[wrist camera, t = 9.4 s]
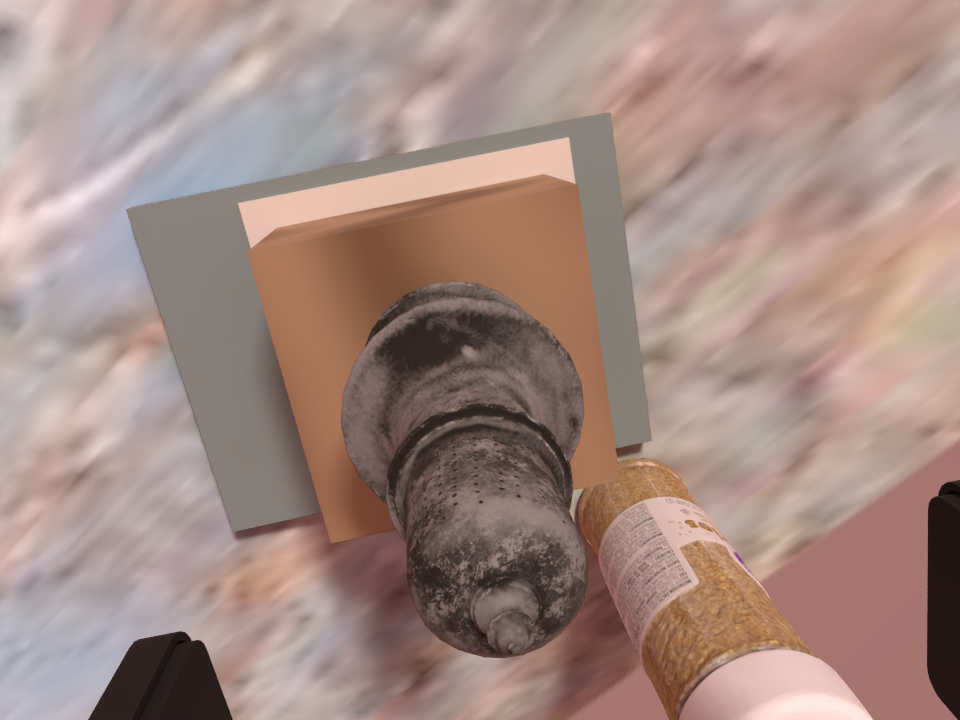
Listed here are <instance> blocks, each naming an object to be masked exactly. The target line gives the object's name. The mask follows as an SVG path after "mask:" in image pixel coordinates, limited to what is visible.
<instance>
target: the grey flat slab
mask: <svg viewBox="0 0 960 720" xmlns="http://www.w3.org/2000/svg"><path fill="white" fill-rule="evenodd" d="M541 174H546V175H549V176H552V177H555V178H559V179H562V180H565V181H568V182H571V183H574V184H577V185H578V188H579V195H580V202H581V209H582V216H583V223H584V230H585V237H586V244H587V251H588V258H589V265H590V272H591V279H592V286H593V293H594V300H595V307H596V314H597V321H598V328H599V335H600V342H601V349H602V356H603V363H604V370H605V377H606V384H607V391H608V398H609V405H610V412H611V419H612V426H613V433H614V440H615V447H616V448H621V447H626V446H630V445H635V444H639V443H644V442H648V441H652V439H651V431H650V423H649V415H648V407H647V399H646V391H645V384H644V376H643V368H642V360H641V352H640V344H639V336H638V328H637V320H636V312H635V304H634V296H633V288H632V280H631V273H630V265H629V257H628V249H627V241H626V233H625V225H624V217H623V209H622V201H621V193H620V185H619V177H618V169H617V162H616V154H615V146H614V138H613V130H612V122H611V114H610V113H603V114H598V115H593V116H588V117H583V118H578V119H573V120H568V121H563V122H558V123H553V124H548V125H543V126H538V127H533V128H528V129H522V130H517V131H512V132H507V133H502V134H497V135H492V136H487V137H482V138H477V139H472V140H467V141H462V142H457V143H452V144H447V145H442V146H437V147H432V148H427V149H422V150H417V151H412V152H407V153H402V154H397V155H392V156H387V157H382V158H377V159H372V160H367V161H362V162H357V163H352V164H347V165H342V166H337V167H332V168H326V169H321V170H316V171H311V172H306V173H301V174H296V175H291V176H286V177H281V178H276V179H271V180H266V181H261V182H256V183H251V184H246V185H241V186H236V187H231V188H226V189H221V190H216V191H211V192H206V193H201V194H196V195H191V196H186V197H181V198H176V199H171V200H166V201H161V202H156V203H151V204H146V205H141V206H136V207H132V208H128V209H126V211H127V214H128V217H129V220H130V223H131V226H132V229H133V232H134V235H135V238H136V241H137V244H138V247H139V250H140V253H141V256H142V259H143V262H144V265H145V268H146V271H147V274H148V277H149V280H150V283H151V286H152V289H153V292H154V295H155V298H156V301H157V304H158V307H159V310H160V313H161V316H162V319H163V322H164V325H165V328H166V331H167V334H168V337H169V340H170V343H171V346H172V349H173V352H174V355H175V358H176V361H177V364H178V367H179V370H180V373H181V376H182V379H183V382H184V385H185V388H186V391H187V394H188V398H189V401H190V404H191V407H192V410H193V413H194V416H195V419H196V422H197V425H198V428H199V431H200V434H201V437H202V440H203V443H204V446H205V449H206V452H207V455H208V458H209V461H210V464H211V467H212V470H213V473H214V476H215V479H216V482H217V485H218V488H219V491H220V494H221V497H222V500H223V503H224V506H225V509H226V512H227V515H228V518H229V521H230V524H231V527H232V530H233V532H235V531H239V530H244V529H249V528H253V527H258V526H262V525H267V524H272V523H276V522H281V521H285V520H290V519H295V518H299V517H304V516H308V515H313V514H318V513H322V511H321V508H320V504H319V501H318V497H317V494H316V490H315V487H314V483H313V480H312V477H311V473H310V470H309V466H308V463H307V459H306V456H305V452H304V449H303V445H302V442H301V438H300V435H299V431H298V428H297V424H296V421H295V417H294V414H293V410H292V407H291V403H290V400H289V396H288V393H287V389H286V386H285V382H284V379H283V375H282V372H281V369H280V365H279V362H278V358H277V355H276V351H275V348H274V344H273V341H272V337H271V334H270V330H269V327H268V323H267V320H266V316H265V313H264V309H263V306H262V302H261V299H260V295H259V292H258V288H257V285H256V281H255V278H254V274H253V271H252V267H251V264H250V260H249V257H248V254H247V251H249V250H250V249H251V248H252V247H254V246H255V245H256V244H257V243H259V242H260V241H261V240H262V239H263V238H265V237H266V236H267V235H268V234H270V233H271V232H272V231H273V230H275V229H276V228H278V227H283V226H288V225H293V224H298V223H303V222H308V221H313V220H318V219H323V218H328V217H333V216H338V215H343V214H348V213H353V212H358V211H363V210H368V209H373V208H378V207H383V206H388V205H392V204H397V203H402V202H407V201H412V200H417V199H422V198H427V197H432V196H437V195H442V194H447V193H452V192H457V191H462V190H467V189H472V188H477V187H482V186H487V185H492V184H497V183H502V182H507V181H511V180H516V179H521V178H526V177H531V176H536V175H541Z"/></svg>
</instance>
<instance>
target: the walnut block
mask: <svg viewBox="0 0 960 720" xmlns="http://www.w3.org/2000/svg"><path fill="white" fill-rule="evenodd" d="M247 254H248V257H249V260H250V264H251V267H252V271H253V274H254V278H255V281H256V285H257V288H258V292H259V295H260V299H261V302H262V306H263V309H264V313H265V316H266V320H267V323H268V327H269V330H270V334H271V337H272V341H273V344H274V348H275V351H276V355H277V358H278V362H279V365H280V369H281V372H282V375H283V379H284V382H285V386H286V389H287V393H288V396H289V400H290V403H291V407H292V410H293V414H294V417H295V421H296V424H297V428H298V431H299V435H300V438H301V442H302V445H303V449H304V452H305V456H306V459H307V463H308V466H309V470H310V473H311V477H312V480H313V483H314V487H315V490H316V494H317V497H318V501H319V504H320V508H321V511H322V515H323V518H324V522H325V525H326V529H327V532H328V536H329V539H330V543H336V542H340V541H345V540H349V539H354V538H358V537H363V536H368V535H372V534H377V533H381V532H386V531H390V530H395V529H396V528H395V526H394V524H393V522H392V520H391V519H390V515H389V510H388V505H387V504H386V503H385V502H383V501H382V500H381V499H380V498H379V497H378V496H377V495H376V494H375V493H374V492H373V491H372V490H371V489H370V488H369V487H368V486H367V485H366V484H365V483H364V482H363V481H362V480H361V478H360V476H359V475H358V473H357V471H356V469H355V467H354V465H353V463H352V461H351V460H350V458H349V456H348V454H347V451H346V446H345V442H344V437H343V432H342V428H341V412H342V398H343V391H344V388H345V385H346V383H347V380H348V377H349V375H350V372H351V369H352V367H353V364H354V362H355V360H356V359H357V358H358V356H359V355H360V353H361V352H362V351H363V349H364V348H365V345H366V343H367V340H368V337H369V335H370V332H371V330H372V328H373V327H374V326H375V324H376V323H377V321H378V320H379V319H380V317H381V316H382V315H383V313H384V312H385V310H387V309H388V308H389V307H390V306H392V305H393V304H394V303H395V302H397V301H398V300H399V299H400V298H402V297H403V296H404V295H406V294H408V293H410V292H412V291H415V290H417V289H419V288H422V287H424V286H426V285H429V284H436V283H442V282H448V281H460V282H469V283H478V284H481V285H483V286H486V287H489V288H491V289H494V290H496V291H499V292H501V293H502V294H504V295H505V296H507V297H508V298H509V299H511V300H512V301H513V302H515V303H516V304H518V305H519V306H520V307H521V308H522V310H523V311H525V312H526V313H528V314H529V315H531V316H532V317H533V318H535V319H536V320H537V321H539V322H540V323H541V324H543V325H544V326H546V327H547V328H548V329H550V330H551V331H552V332H553V334H554V335H555V336H556V338H557V339H558V340H559V341H560V343H561V344H562V345H563V347H564V348H565V349H566V350H567V352H568V353H569V354H570V356H571V358H572V361H573V363H574V366H575V368H576V371H577V373H578V376H579V378H580V380H581V383H582V392H583V402H584V411H585V413H584V419H583V425H582V431H581V436H580V442H579V444H578V446H577V448H576V450H575V452H574V455H573V457H572V459H571V461H570V465H571V472H572V480H573V490H577V489H582V488H586V487H591V486H595V485H600V484H605V483H609V482H614V481H618V480H620V475H619V468H618V461H617V454H616V447H615V440H614V433H613V426H612V419H611V412H610V405H609V398H608V391H607V384H606V377H605V370H604V363H603V356H602V349H601V342H600V335H599V328H598V321H597V314H596V307H595V300H594V293H593V286H592V279H591V272H590V265H589V258H588V251H587V244H586V237H585V230H584V223H583V216H582V209H581V202H580V195H579V188H578V185H577V184H574V183H571V182H568V181H565V180H562V179H559V178H555V177H552V176H549V175H546V174H541V175H536V176H531V177H526V178H521V179H516V180H511V181H507V182H502V183H497V184H492V185H487V186H482V187H477V188H472V189H467V190H462V191H457V192H452V193H447V194H442V195H437V196H432V197H427V198H422V199H417V200H412V201H407V202H402V203H397V204H392V205H388V206H383V207H378V208H373V209H368V210H363V211H358V212H353V213H348V214H343V215H338V216H333V217H328V218H323V219H318V220H313V221H308V222H303V223H298V224H293V225H288V226H283V227H278V228H276V229H275V230H273V231H272V232H271V233H270V234H268V235H267V236H266V237H265V238H263V239H262V240H261V241H260V242H259V243H257V244H256V245H255V246H254V247H252V248H251V249H250V250H249V251H247Z"/></svg>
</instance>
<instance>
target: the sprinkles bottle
mask: <svg viewBox="0 0 960 720" xmlns="http://www.w3.org/2000/svg"><path fill="white" fill-rule="evenodd" d="M618 468H619V475H620V480H618V481H614V482H609V483H605V484H600V485H595V486H591V487H586V488H585V490H584V492H583V493H582V496H581V499H580V502H579V505H578V520H579V525H580V529H581V532H582V534H583V536H584V538H585V539H586V541H587V542H588V543H589V545H590V546H591V547H592V548H593V551H594V553H595V555H596V557H597V559H598V561H599V566H600V570H601V573H602V575H603V578H604V580H605V582H606V585H607V587H608V589H609V592H610V594H611V596H612V598H613V601H614V603H615V605H616V608H617V610H618V612H619V614H620V617H621V619H622V621H623V623H624V626H625V628H626V630H627V632H628V635H629V637H630V639H631V641H632V644H633V646H634V648H635V650H636V653H637V655H638V657H639V659H640V662H641V664H642V666H643V668H644V671H645V672H646V674H647V676H648V677H649V679H650V680H651V681H652V683H653V685H654V688H655V690H656V692H657V694H658V696H659V698H660V700H661V702H662V704H663V706H664V709H665V711H666V713H667V716H668V718H669V720H873V719H872V717H871V716H870V715H869V713H868V712H867V711H866V709H865V708H864V707H863V705H862V704H861V703H860V701H859V700H858V699H857V697H856V696H855V695H854V694H853V692H852V691H851V690H850V689H849V687H848V686H847V685H846V684H845V682H844V681H843V680H842V679H841V678H840V676H839V675H838V674H837V673H836V672H835V671H834V670H833V669H832V668H831V667H830V666H828V665H827V664H826V663H824V662H822V661H821V660H820V659H818V658H817V656H815V655H814V654H812V653H811V652H810V650H809V649H808V648H807V647H806V645H805V644H804V643H803V642H802V640H801V639H800V638H799V637H798V635H797V634H796V632H795V631H794V629H793V628H792V627H791V626H790V625H789V623H788V622H787V620H786V619H785V618H784V616H783V615H782V614H781V613H780V612H779V611H778V610H777V608H776V607H775V605H774V604H773V603H772V601H771V600H770V598H769V596H768V594H767V593H766V591H765V590H764V588H763V587H762V586H761V584H760V583H759V582H758V581H757V579H756V578H755V577H754V575H753V574H752V573H751V571H750V570H749V569H748V567H747V566H746V565H745V563H744V562H743V561H742V560H741V558H740V557H739V556H738V554H737V553H736V552H735V550H734V549H733V548H732V547H731V545H730V544H729V543H728V542H727V540H726V539H725V538H724V536H723V535H722V534H721V532H720V531H719V530H718V528H717V527H716V526H715V524H714V523H713V522H712V521H711V519H710V518H709V517H708V516H707V514H706V513H705V512H704V511H703V510H701V509H700V508H699V507H698V505H697V503H696V502H695V501H694V500H693V499H692V497H691V496H690V495H689V493H688V490H687V488H686V486H685V484H684V483H683V481H682V480H681V478H680V477H679V475H678V474H677V473H675V472H674V471H673V470H672V469H671V468H669V467H668V466H666V465H664V464H662V463H659V462H656V461H653V460H649V459H646V458H641V459H635V458H634V459H627V460H623V461H620V462H618Z"/></svg>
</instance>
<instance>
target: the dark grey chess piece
mask: <svg viewBox="0 0 960 720" xmlns="http://www.w3.org/2000/svg"><path fill="white" fill-rule="evenodd" d="M584 413H585V411H584V402H583V392H582V383H581V380H580V378H579V376H578V373H577V371H576V368H575V366H574V363H573V361H572V358H571V356H570V354H569V353H568V352H567V350H566V349H565V348H564V347H563V345H562V344H561V343H560V341H559V340H558V339H557V338H556V336H555V335H554V334H553V332H552V331H551V330H550V329H548V328H547V327H546V326H544V325H543V324H541V323H540V322H539V321H537V320H536V319H535V318H533V317H532V316H531V315H529V314H528V313H526V312H525V311H523V310H522V308H521V307H520V306H519V305H518V304H516V303H515V302H513V301H512V300H511V299H509V298H508V297H507V296H505V295H504V294H502V293H501V292H499V291H496V290H494V289H491V288H489V287H486V286H483V285H481V284H478V283H469V282H460V281H448V282H442V283H436V284H429V285H426V286H424V287H422V288H419V289H417V290H415V291H412V292H410V293H408V294H406V295H404V296H403V297H402V298H400V299H399V300H398V301H397V302H395V303H394V304H393V305H392V306H390V307H389V308H388V309H387V310H385V312H384V313H383V315H382V316H381V317H380V319H379V320H378V321H377V323H376V324H375V326H374V327H373V328H372V330H371V332H370V335H369V337H368V340H367V343H366V345H365V348H364V349H363V351H362V352H361V353H360V355H359V356H358V358H357V359H356V360H355V362H354V364H353V367H352V369H351V372H350V375H349V377H348V380H347V383H346V385H345V388H344V391H343V398H342V412H341V428H342V432H343V437H344V442H345V446H346V451H347V454H348V456H349V458H350V460H351V461H352V463H353V465H354V467H355V469H356V471H357V473H358V475H359V476H360V478H361V480H362V481H363V482H364V483H365V484H366V485H367V486H368V487H369V488H370V489H371V490H372V491H373V492H374V493H375V494H376V495H377V496H378V497H379V498H380V499H381V500H382V501H383V502H385V503H386V504H387V505H388V510H389V515H390V519H391V520H392V522H393V524H394V526H395V528H396V530H397V531H398V533H399V535H400V537H401V538H402V539H403V540H404V541H405V542H406V543H407V580H408V585H409V589H410V594H411V598H412V601H413V603H414V605H415V608H416V610H417V611H418V613H419V615H420V617H421V619H422V620H423V622H424V624H425V625H426V626H427V627H428V628H429V629H430V630H431V631H432V632H433V633H434V634H435V635H436V636H437V637H438V638H439V639H440V640H442V641H443V642H445V643H447V644H449V645H451V646H452V647H454V648H456V649H458V650H460V651H464V652H467V653H471V654H475V655H478V656H482V657H491V658H508V657H513V656H519V655H524V654H527V653H529V652H531V651H534V650H536V649H539V648H541V647H543V646H544V645H546V644H547V643H548V642H550V641H551V640H553V639H554V638H556V637H557V636H558V635H559V634H560V633H561V632H562V631H563V630H564V629H565V628H566V627H567V626H568V624H569V623H570V622H571V621H572V620H573V619H574V618H575V616H576V615H577V612H578V610H579V608H580V606H581V604H582V602H583V600H584V598H585V593H586V587H587V581H588V568H587V560H586V552H585V547H584V544H583V542H582V540H581V538H580V535H579V533H578V531H577V528H576V526H575V524H574V522H573V519H572V517H571V515H570V512H569V510H570V506H571V500H572V494H573V480H572V472H571V465H570V461H571V459H572V457H573V455H574V452H575V450H576V448H577V446H578V444H579V442H580V436H581V431H582V425H583V419H584Z"/></svg>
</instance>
